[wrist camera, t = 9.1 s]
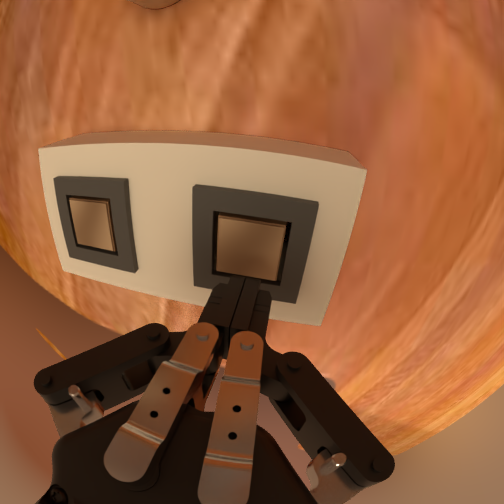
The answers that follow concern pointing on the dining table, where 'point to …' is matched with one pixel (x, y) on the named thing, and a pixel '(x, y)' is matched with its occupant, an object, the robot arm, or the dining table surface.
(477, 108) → the dining table surface
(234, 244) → the peg
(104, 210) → the peg
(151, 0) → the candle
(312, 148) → the socket board
